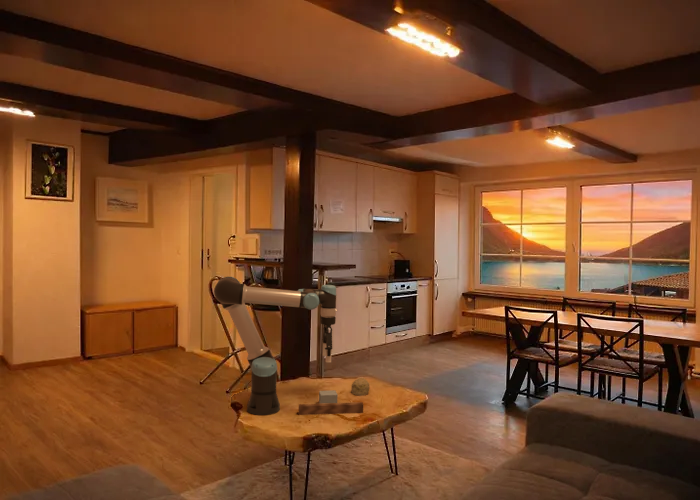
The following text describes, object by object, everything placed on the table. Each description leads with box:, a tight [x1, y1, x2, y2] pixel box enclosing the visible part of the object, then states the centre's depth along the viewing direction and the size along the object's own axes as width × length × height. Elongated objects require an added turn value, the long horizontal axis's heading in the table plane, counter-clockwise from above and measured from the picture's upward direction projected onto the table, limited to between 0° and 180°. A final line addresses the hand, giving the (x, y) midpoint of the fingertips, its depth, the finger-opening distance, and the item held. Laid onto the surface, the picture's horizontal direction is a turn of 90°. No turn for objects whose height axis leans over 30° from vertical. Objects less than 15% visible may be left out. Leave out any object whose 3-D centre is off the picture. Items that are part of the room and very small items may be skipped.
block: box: [318, 390, 339, 404], centre depth 259 cm, size 8×7×6 cm
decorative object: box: [350, 377, 370, 397], centre depth 278 cm, size 9×10×10 cm
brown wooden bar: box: [297, 401, 364, 416], centre depth 249 cm, size 30×3×4 cm, turn 100°
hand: (326, 359), depth 267 cm, fingers open, 12 cm apart
